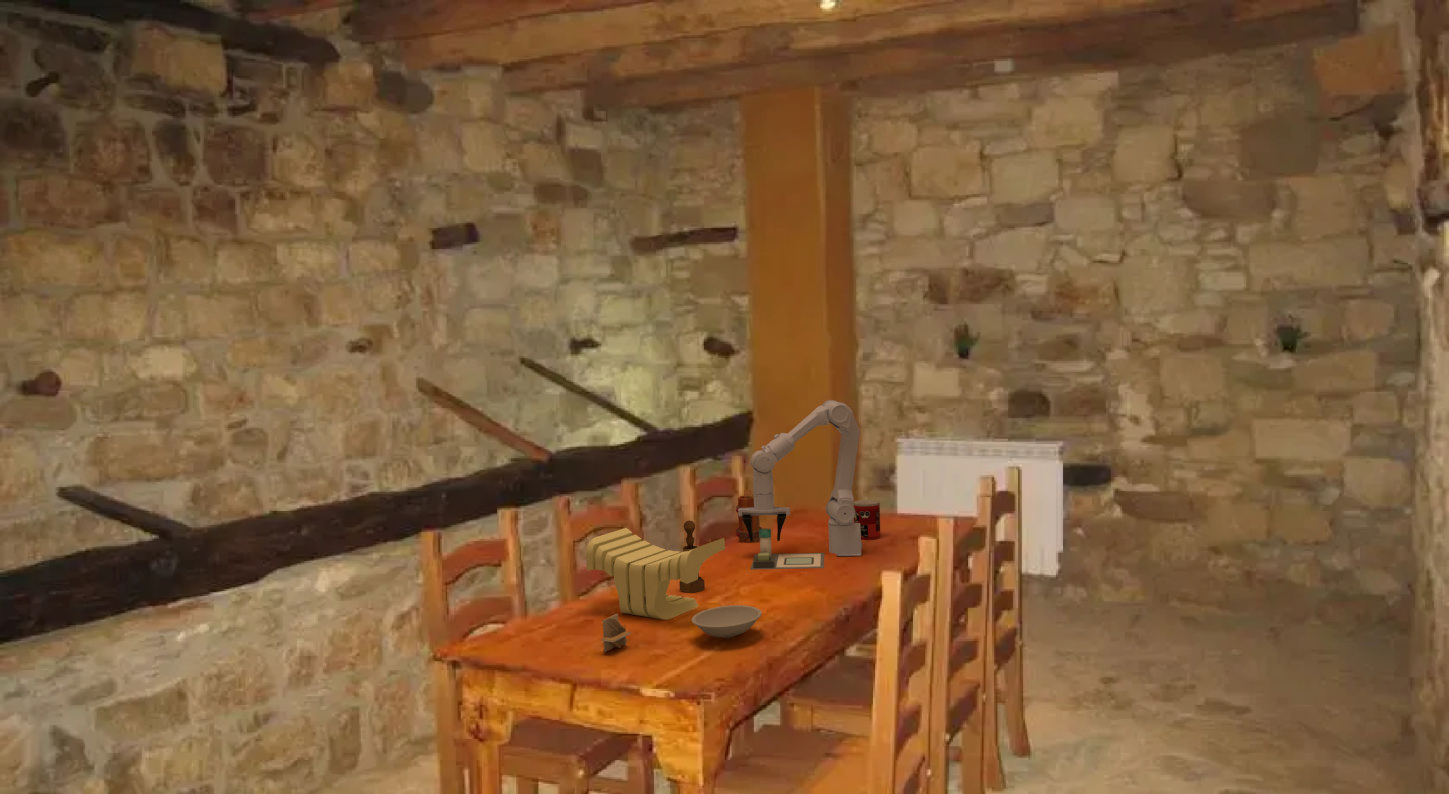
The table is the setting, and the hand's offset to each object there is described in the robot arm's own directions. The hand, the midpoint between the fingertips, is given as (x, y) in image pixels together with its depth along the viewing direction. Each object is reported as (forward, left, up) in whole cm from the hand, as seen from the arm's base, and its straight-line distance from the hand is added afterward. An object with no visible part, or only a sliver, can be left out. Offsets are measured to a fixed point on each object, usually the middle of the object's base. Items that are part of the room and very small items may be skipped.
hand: (765, 540), depth 326 cm
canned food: (-30, -27, -6) cm, 40 cm away
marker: (0, 0, -5) cm, 5 cm away
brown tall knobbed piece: (+17, +31, -6) cm, 36 cm away
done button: (0, +10, -4) cm, 11 cm away
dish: (+4, +73, -6) cm, 73 cm away
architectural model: (+28, +80, -6) cm, 85 cm away
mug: (+6, -26, -6) cm, 27 cm away
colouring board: (-7, +5, -6) cm, 10 cm away
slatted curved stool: (+23, +51, -6) cm, 56 cm away
